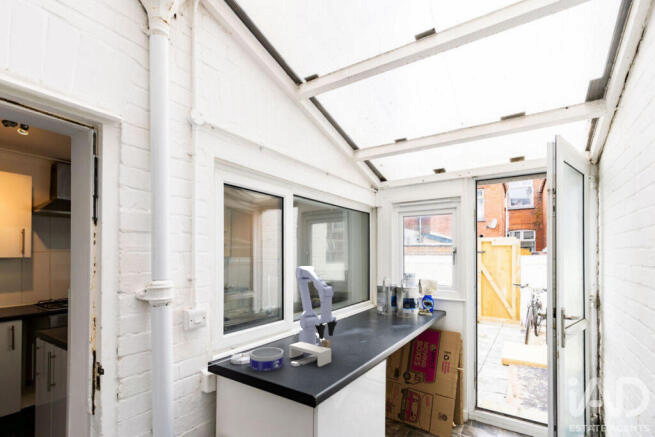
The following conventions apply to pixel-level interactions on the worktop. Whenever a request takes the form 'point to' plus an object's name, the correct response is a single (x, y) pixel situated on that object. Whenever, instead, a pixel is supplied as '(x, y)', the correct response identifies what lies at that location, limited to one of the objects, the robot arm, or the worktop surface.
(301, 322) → the robot arm
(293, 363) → the token
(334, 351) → the worktop surface
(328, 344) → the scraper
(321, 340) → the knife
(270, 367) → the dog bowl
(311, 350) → the small white bench
